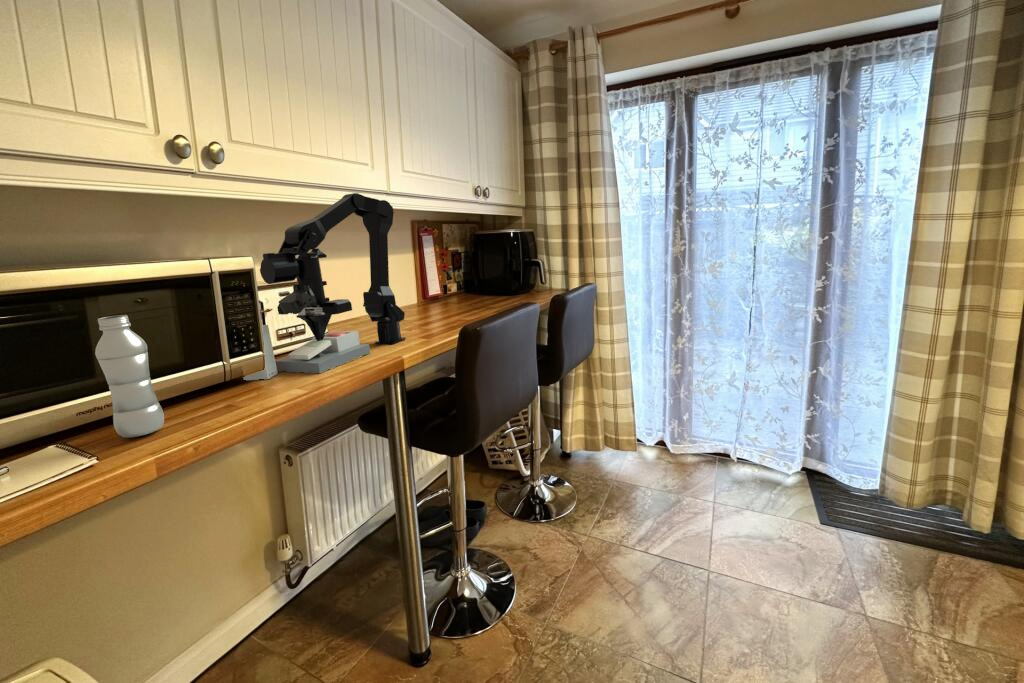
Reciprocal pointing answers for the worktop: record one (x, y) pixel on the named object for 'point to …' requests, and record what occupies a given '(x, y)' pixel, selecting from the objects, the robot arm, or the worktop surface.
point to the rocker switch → (309, 349)
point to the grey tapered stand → (266, 359)
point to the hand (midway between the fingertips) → (320, 341)
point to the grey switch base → (327, 355)
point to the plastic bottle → (128, 378)
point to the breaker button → (335, 334)
